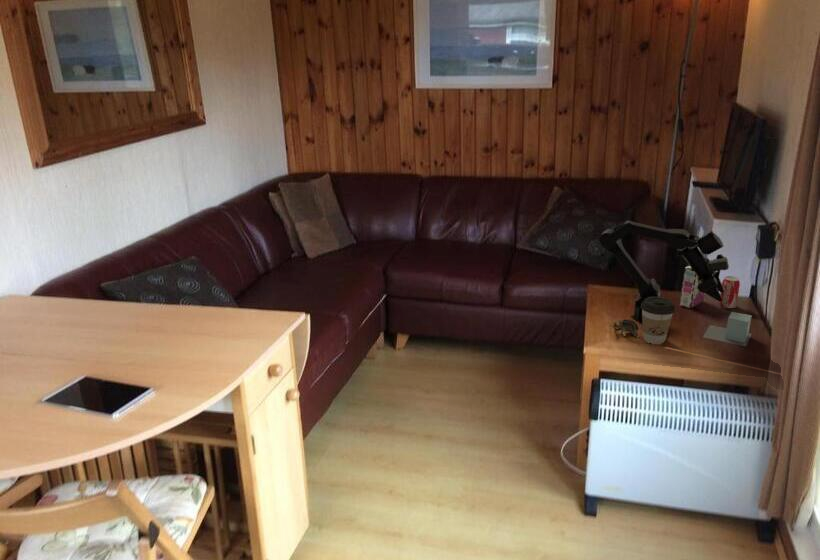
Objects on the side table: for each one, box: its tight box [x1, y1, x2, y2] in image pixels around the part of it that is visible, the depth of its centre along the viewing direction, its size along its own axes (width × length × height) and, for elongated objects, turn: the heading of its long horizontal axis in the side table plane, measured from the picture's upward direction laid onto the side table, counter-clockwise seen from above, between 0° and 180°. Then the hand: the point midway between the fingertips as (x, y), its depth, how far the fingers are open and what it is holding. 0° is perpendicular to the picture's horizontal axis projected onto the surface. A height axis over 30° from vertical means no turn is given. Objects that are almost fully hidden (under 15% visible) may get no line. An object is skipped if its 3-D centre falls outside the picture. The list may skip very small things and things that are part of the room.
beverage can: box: [718, 275, 741, 310], centre depth 254 cm, size 6×6×12 cm
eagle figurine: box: [612, 318, 640, 338], centre depth 234 cm, size 8×7×9 cm
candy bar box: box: [679, 264, 705, 309], centre depth 257 cm, size 11×5×16 cm, turn 133°
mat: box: [702, 324, 752, 347], centre depth 230 cm, size 14×12×3 cm
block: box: [725, 311, 753, 343], centre depth 227 cm, size 6×6×8 cm
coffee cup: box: [641, 296, 676, 345], centre depth 227 cm, size 11×11×15 cm
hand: (722, 296), depth 231 cm, fingers open, 9 cm apart
